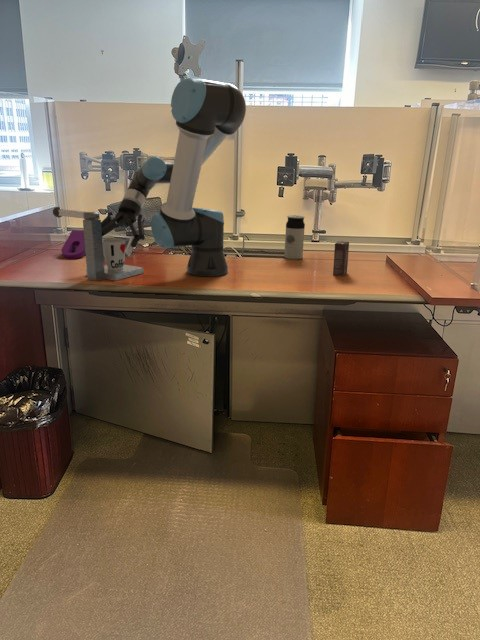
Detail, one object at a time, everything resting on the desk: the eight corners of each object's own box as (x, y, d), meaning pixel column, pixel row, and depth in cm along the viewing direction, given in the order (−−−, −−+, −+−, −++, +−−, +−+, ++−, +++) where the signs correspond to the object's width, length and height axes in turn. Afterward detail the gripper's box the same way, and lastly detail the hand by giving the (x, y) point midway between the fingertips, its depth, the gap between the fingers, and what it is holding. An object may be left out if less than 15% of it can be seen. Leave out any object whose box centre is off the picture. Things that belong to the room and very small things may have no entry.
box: (335, 271, 178) (338, 240, 174) (347, 273, 176) (350, 241, 172) (331, 275, 173) (334, 242, 169) (343, 276, 171) (346, 244, 167)
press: (143, 273, 168) (141, 217, 162) (107, 283, 153) (102, 222, 147) (115, 268, 175) (111, 214, 168) (77, 277, 160) (72, 218, 153)
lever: (103, 221, 153) (102, 210, 152) (91, 222, 149) (90, 211, 147) (61, 216, 162) (60, 205, 161) (49, 217, 158) (48, 206, 157)
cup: (109, 272, 160) (107, 243, 156) (99, 267, 166) (97, 239, 162) (130, 269, 165) (129, 241, 161) (120, 265, 170) (119, 238, 167)
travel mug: (293, 255, 207) (295, 214, 202) (306, 258, 202) (309, 216, 196) (280, 257, 203) (282, 215, 197) (293, 260, 197) (296, 217, 191)
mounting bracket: (85, 272, 193) (98, 246, 206) (80, 255, 187) (93, 230, 200) (63, 271, 193) (77, 245, 206) (57, 254, 187) (72, 229, 200)
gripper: (165, 213, 169) (145, 261, 160) (107, 209, 177) (86, 255, 168) (157, 199, 162) (136, 249, 154) (98, 196, 170) (75, 243, 162)
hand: (110, 252), depth 161 cm, fingers open, 13 cm apart
